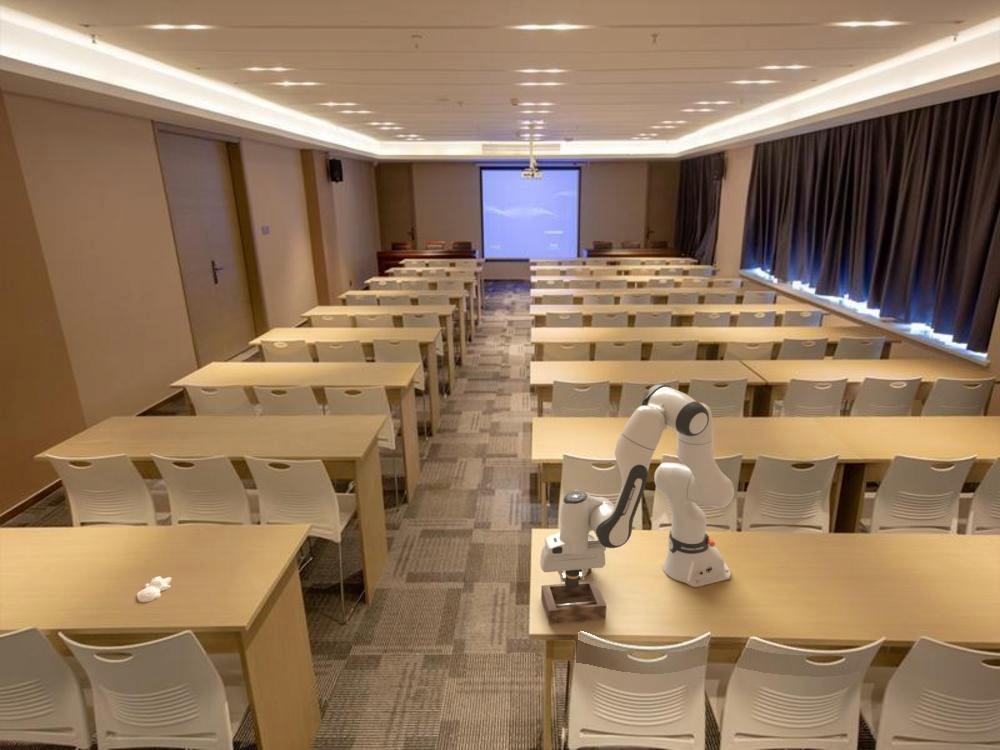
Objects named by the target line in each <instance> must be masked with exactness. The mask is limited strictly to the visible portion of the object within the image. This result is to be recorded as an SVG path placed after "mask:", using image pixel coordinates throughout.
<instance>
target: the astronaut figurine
mask: <svg viewBox="0 0 1000 750" xmlns="http://www.w3.org/2000/svg"><path fill="white" fill-rule="evenodd" d="M171 581H172V577H170V576H169V577H165V578H162V576H156V577H153V578H151V582H150V583H145V584H144V588H143V589H141V590H140V591H139V592H137V594H136V598H137V600H138V602H140V603H147V602H151V601H155V600H156V599H159V598H160V597H161V596H162V594H161V592H164V591H167V590H169V589H171V588H172V587H171V585H170V583H171Z"/></svg>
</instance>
